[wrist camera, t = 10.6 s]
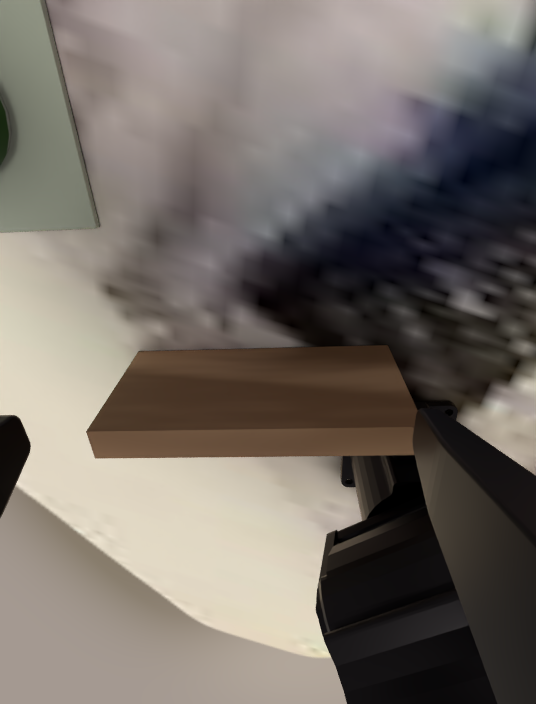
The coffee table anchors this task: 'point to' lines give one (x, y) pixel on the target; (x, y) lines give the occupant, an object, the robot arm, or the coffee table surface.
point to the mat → (39, 130)
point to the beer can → (4, 130)
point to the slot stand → (257, 404)
